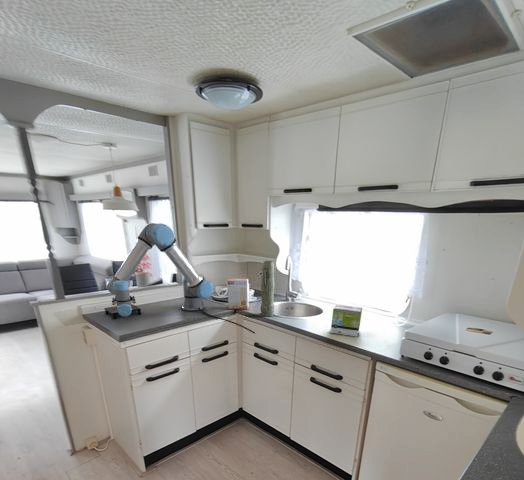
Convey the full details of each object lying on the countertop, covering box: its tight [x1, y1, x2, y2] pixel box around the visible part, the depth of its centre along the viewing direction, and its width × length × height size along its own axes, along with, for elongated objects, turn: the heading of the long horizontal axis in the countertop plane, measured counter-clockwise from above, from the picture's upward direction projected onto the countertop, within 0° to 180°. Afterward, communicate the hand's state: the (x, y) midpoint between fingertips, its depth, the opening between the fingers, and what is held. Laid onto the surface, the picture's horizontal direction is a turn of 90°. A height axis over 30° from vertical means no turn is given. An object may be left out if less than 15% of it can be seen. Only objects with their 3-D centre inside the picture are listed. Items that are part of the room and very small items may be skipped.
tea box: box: [330, 304, 363, 337], centre depth 183 cm, size 15×10×15 cm
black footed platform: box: [103, 303, 142, 320], centre depth 214 cm, size 16×18×4 cm
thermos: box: [260, 260, 276, 318], centre depth 211 cm, size 9×12×35 cm
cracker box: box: [227, 278, 250, 311], centre depth 228 cm, size 14×6×21 cm, turn 84°
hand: (123, 296), depth 214 cm, fingers closed on packet, 6 cm apart
